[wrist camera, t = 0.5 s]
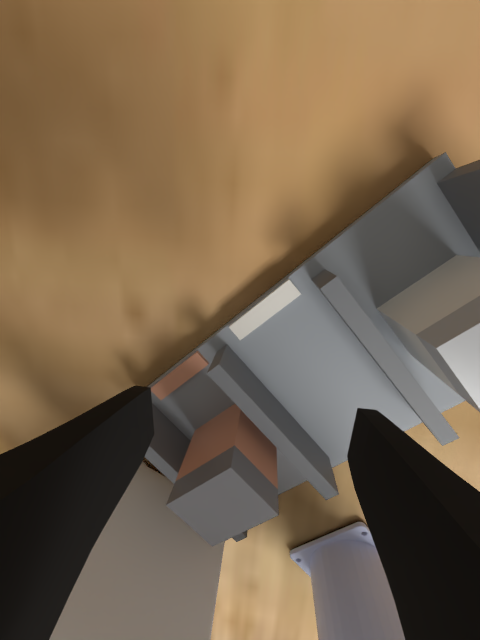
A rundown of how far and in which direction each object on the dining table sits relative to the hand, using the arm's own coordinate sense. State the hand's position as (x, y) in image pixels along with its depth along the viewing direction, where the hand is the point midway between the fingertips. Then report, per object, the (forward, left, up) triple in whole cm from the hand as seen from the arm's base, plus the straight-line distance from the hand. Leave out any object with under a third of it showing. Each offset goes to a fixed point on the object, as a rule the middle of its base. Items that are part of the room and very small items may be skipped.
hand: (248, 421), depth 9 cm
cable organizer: (-7, +20, -10) cm, 24 cm away
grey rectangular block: (-5, -9, -9) cm, 14 cm away
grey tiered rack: (-5, -1, -10) cm, 11 cm away
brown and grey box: (-5, +7, -9) cm, 12 cm away
